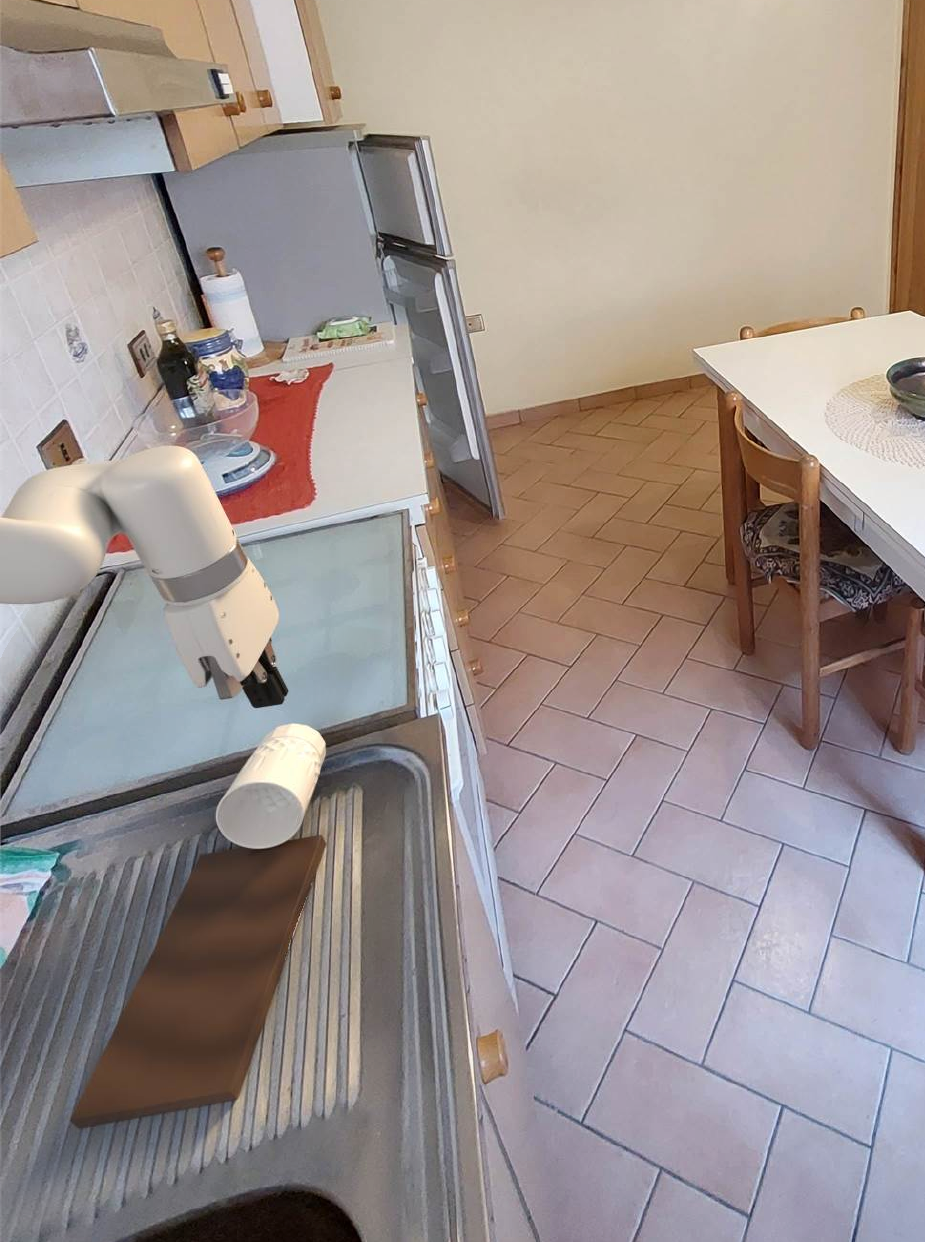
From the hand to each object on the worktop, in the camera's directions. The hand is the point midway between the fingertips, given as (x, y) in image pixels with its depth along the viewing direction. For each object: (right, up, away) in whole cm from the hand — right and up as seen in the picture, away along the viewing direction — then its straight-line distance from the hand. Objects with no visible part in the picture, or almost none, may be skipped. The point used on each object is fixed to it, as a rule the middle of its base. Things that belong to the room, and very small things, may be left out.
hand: (271, 700), depth 82 cm
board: (+3, -19, -14) cm, 24 cm away
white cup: (+1, -6, +3) cm, 7 cm away
